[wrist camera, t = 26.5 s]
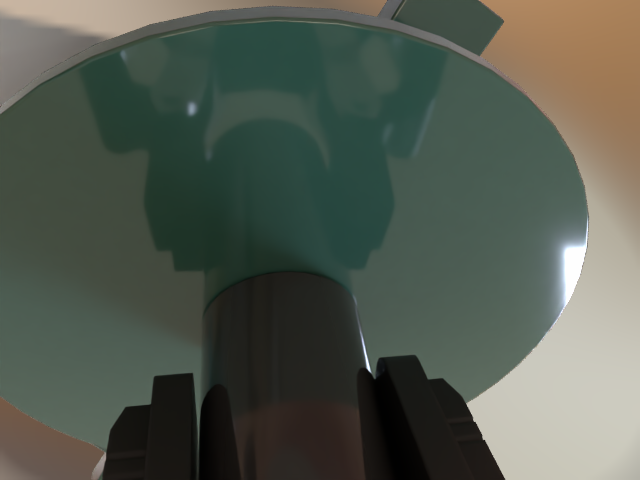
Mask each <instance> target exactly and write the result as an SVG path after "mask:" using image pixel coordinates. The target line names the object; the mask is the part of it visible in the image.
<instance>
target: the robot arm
mask: <svg viewBox="0 0 640 480" xmlns="http://www.w3.org/2000/svg"><path fill="white" fill-rule="evenodd" d="M374 380H375V384H376V389H377V393H378V397H379V402H380V406H381V410H382V415H383V419H384V424H385V428H386V432H387V437H388V441H389V445H390V450H391V454H392V459H393V463H394V467H395V472H396V476H397V480H505V478H504V476H503V474H502V473H501V471H500V469H499V467H498V465H497V463H496V461H495V459H494V457H493V455H492V453H491V451H490V449H489V447H488V445H487V444H486V442H485V440H483V438H482V434H481V432H480V430H479V428H478V426H477V424H476V422H474V421H473V417H472V414H471V413H470V411H469V409H468V407H467V405H466V403H465V401H464V399H463V397H462V396H461V395H460V394H459V393H458V392H457V391H456V390H455V389H454V388H453V387H452V386H451V385H450V384H448V383H447V382H446V381H445V380H444V379H443V378H438V379H428V378H427V376H426V374H425V372H424V369H423V367H422V365H421V363H420V361H419V359H418V358H417V356H416V355H404V356H391V357H380V358H379V359H378V361H377V365H376V372H375V379H374ZM198 459H199V448H198V426H197V413H196V401H195V388H194V377H193V373H182V374H170V375H158V376H154V379H153V388H152V398H151V404H149V405H139V406H128V407H125V408H124V410H123V411H122V413H121V414H120V416H119V417H118V419H117V420H116V422H115V423H114V425H113V426H112V428H111V429H110V434H109V440H108V445H107V451H106V461H105V463H104V469H103V475H102V480H198Z"/></svg>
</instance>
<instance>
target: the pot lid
mask: <svg viewBox="0 0 640 480" xmlns="http://www.w3.org/2000/svg"><path fill="white" fill-rule="evenodd" d="M588 226H589V213H588V206H587V200H586V193H585V186H584V183H583V180H582V178H581V175H580V172H579V169H578V166H577V164H576V161H575V158H574V155H573V154H572V152H571V150H570V149H569V147H568V146H567V144H566V142H565V141H564V139H563V138H562V136H561V134H560V133H559V131H558V130H557V128H556V126H555V125H554V124H553V122H552V121H551V120H550V118H549V117H548V116H547V114H546V113H545V112H544V111H543V110H542V109H541V108H540V107H539V106H538V105H537V104H536V103H535V102H534V101H533V99H532V98H531V97H530V96H529V95H528V94H527V93H526V92H525V91H524V90H523V89H522V87H521V86H520V85H518V84H517V83H516V82H514V81H513V80H512V79H510V78H509V77H508V76H506V75H505V74H504V73H502V72H501V71H500V70H498V69H497V68H496V67H494V66H493V65H492V64H490V63H489V62H488V61H486V60H485V59H483V58H482V57H480V56H478V55H476V54H474V53H472V52H470V51H468V50H466V49H464V48H462V47H460V46H458V45H456V44H454V43H452V42H451V41H449V40H447V39H445V38H443V37H441V36H438V35H435V34H432V33H429V32H426V31H423V30H420V29H417V28H414V27H411V26H408V25H405V24H402V23H399V22H396V21H393V20H390V19H385V18H380V17H374V16H369V15H363V14H358V13H353V12H347V11H342V10H336V9H324V8H303V7H281V6H267V7H256V8H243V9H232V10H220V11H209V12H205V13H201V14H196V15H191V16H187V17H183V18H178V19H173V20H169V21H164V22H159V23H155V24H150V25H147V26H145V27H142V28H140V29H137V30H134V31H131V32H128V33H126V34H123V35H120V36H118V37H115V38H112V39H109V40H107V41H104V42H101V43H99V44H96V45H93V46H92V47H90V48H88V49H86V50H84V51H82V52H80V53H79V54H77V55H75V56H73V57H71V58H69V59H68V60H66V61H64V62H62V63H60V64H58V65H57V66H55V67H53V68H51V69H49V70H47V71H45V72H44V73H43V74H41V75H40V76H39V77H37V78H36V79H35V80H33V81H32V82H31V83H30V84H28V85H27V86H26V87H24V88H23V89H22V90H20V91H19V92H18V93H17V94H15V95H14V96H13V97H11V98H10V99H9V100H7V101H6V102H5V103H4V104H3V105H2V106H1V107H0V397H2V398H3V399H4V400H6V401H7V402H9V403H10V404H11V405H13V406H14V407H16V408H17V409H19V410H20V411H21V412H23V413H25V414H27V415H28V416H31V417H32V418H34V419H36V420H38V421H39V422H41V423H43V424H45V425H47V426H48V427H51V428H53V429H55V430H58V431H60V432H62V433H64V434H67V435H69V436H71V437H74V438H76V439H79V440H82V441H85V442H88V443H91V444H94V445H97V446H100V447H103V448H106V449H107V445H108V440H109V434H110V429H111V428H112V426H113V425H114V423H115V422H116V420H117V419H118V417H119V416H120V414H121V413H122V411H123V410H124V408H125V407H128V406H139V405H149V404H151V398H152V388H153V379H154V376H158V375H170V374H182V373H193V377H194V388H195V401H196V413H197V426H198V448H199V459H198V480H397V476H396V472H395V467H394V463H393V459H392V454H391V450H390V445H389V441H388V437H387V432H386V428H385V424H384V419H383V415H382V410H381V406H380V402H379V397H378V393H377V389H376V384H375V380H374V379H375V372H376V365H377V361H378V359H379V358H380V357H391V356H404V355H416V356H417V358H418V359H419V361H420V363H421V365H422V367H423V369H424V372H425V374H426V376H427V378H428V379H438V378H443V379H444V380H445V381H446V382H447V383H448V384H450V385H451V386H452V387H453V388H454V389H455V390H456V391H457V392H458V393H459V394H460V395H461V396H462V397H463V399H464V401H465V403H467V402H469V401H471V400H473V399H474V398H476V397H477V396H479V395H480V394H482V393H483V392H484V391H486V390H487V389H489V388H490V387H492V386H493V385H495V384H496V383H497V382H499V381H500V380H501V379H502V378H503V377H505V376H506V375H507V374H508V373H509V372H510V371H512V370H513V369H514V368H515V367H517V366H518V365H519V364H520V363H521V362H522V361H523V360H524V359H525V358H526V357H527V356H528V355H529V354H530V353H531V352H532V351H533V349H535V348H536V347H537V346H538V345H539V343H540V342H541V341H542V340H543V338H544V337H545V336H546V335H547V333H548V332H549V331H550V330H551V328H552V327H553V326H554V324H555V323H556V322H557V320H558V318H559V317H560V315H561V313H562V312H563V310H564V308H565V307H566V305H567V303H568V302H569V300H570V298H571V296H572V293H573V291H574V289H575V286H576V284H577V282H578V279H579V277H580V274H581V270H582V267H583V263H584V258H585V254H586V250H587V244H588Z"/></svg>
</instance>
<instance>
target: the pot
mask: <svg viewBox="0 0 640 480" xmlns="http://www.w3.org/2000/svg"><path fill="white" fill-rule="evenodd" d="M377 17H380V18H385V19H390V20H393V21H396V22H399V23H402V24H405V25H408V26H411V27H414V28H417V29H420V30H423V31H426V32H429V33H432V34H435V35H438V36H441V37H443V38H445V39H447V40H449V41H451V42H452V43H454V44H456V45H458V46H460V47H462V48H464V49H466V50H468V51H470V52H472V53H474V54H476V55H478V56H480V55H481V54H482V52H483V51H484V50H485V48H486V47H487V45H488V44H489V43H490V41H491V40H492V38H493V37H494V36H495V34H496V33H497V31H498V30H499V28H500V27H501V26H502V24H503V23H504V20H503V19H502V18H501V17H500V16H498V15H497V14H496V13H494V12H493V11H492V10H491V9H489V8H488V7H487V6H485V5H484V4H483V3H482V2H480V1H479V0H387V2H386V4H385V5H384V7H383V8H382V10H381V12H380V13H379V15H378V16H377ZM92 445H94V444H92ZM94 446H96V447H97V448H99V449H100V450H102V451H104V452H105V453H104V455H103V456H102V458H101V459H100V461H99V462H98V464H97V466H96V467H95V469H94V470H93V473H92V478H91V480H102V475H103V469H104V463H105V461H106V451H107V449H106V448H103V447H100V446H97V445H94Z"/></svg>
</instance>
